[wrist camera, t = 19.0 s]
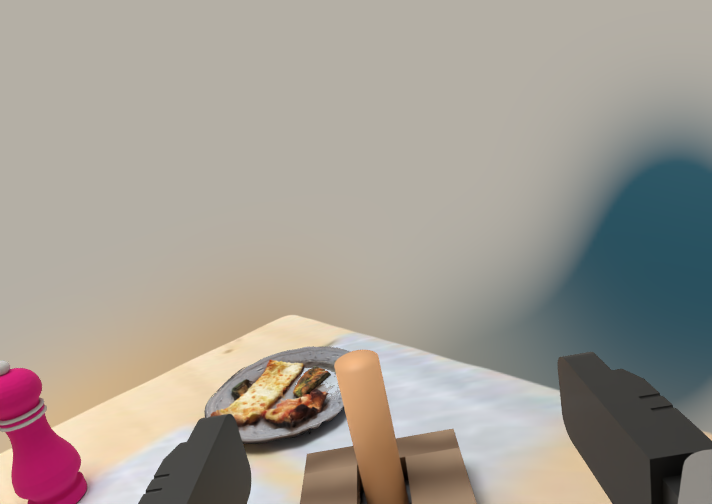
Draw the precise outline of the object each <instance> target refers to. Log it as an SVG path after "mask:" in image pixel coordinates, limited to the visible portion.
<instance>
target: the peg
mask: <svg viewBox="0 0 712 504" xmlns="http://www.w3.org/2000/svg"><path fill="white" fill-rule="evenodd" d="M334 367H335V371H336V376H337V380H338V384H339V388H340V392H341V396H342V401H343V405H344V409H345V413H346V417H347V421H348V426H349V430H350V434H351V438H352V442H353V446H354V451H355V455H356V459H357V463H358V467H359V471H360V476H361V480H362V484H363V488H364V490H363V491H362V492H361V493H360V504H412V499H411V492H410V486H409V481H408V480H404V476H403V472H402V467H401V462H400V457H399V453H398V448H397V443H396V438H395V434H394V429H393V424H392V419H391V415H390V410H389V405H388V400H387V396H386V391H385V386H384V381H383V377H382V372H381V367H380V362H379V358H378V355H377V354H376V353H375V352H373V351H370V350H357V351H352V352H349V353H346V354H344V355H343V356H341V357H340V358H338V359H337V360H336V362H335V364H334Z"/></svg>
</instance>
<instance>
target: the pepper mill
mask: <svg viewBox="0 0 712 504" xmlns="http://www.w3.org/2000/svg"><path fill="white" fill-rule="evenodd" d="M41 391H42V383H41V380H40V379H39V377H38V376H37V375H36V374H35V373H34V372H32V371H31V370H28V369H24V368H14V369H10V365H9V363H8V362H6V361H3V360H1V361H0V431H2V432H6V434H7V435H8V437H9V438H10V441H11V444H12V449H13V464H12V484H13V487H14V490H15V493H16V494H17V495H18V496H19V497H21V498H23V499H28V504H76V503H77V502H78V501H79V500H80V499H81V498H82V497H83V495H84V494H85V492H86V490H87V483H86V481H85V479H84V476H83V474H82V473H81V472H78V471H79V468H80V465H81V459H80V456H79V454H78V452H77V450H76V449H75V448H74V447H73V446H72V445H71V444H70V443H69V442H67V441H66V440H64V439H63V438H61V437H59V436H58V435H57V434H56V433H55V432H54V431H53V430H52V429H51V427H50V425H49V424H48V422H47V420H46V416H45V412H46V409H47V407H46V406H45V405H44V400H43V399H42V398H39V396H40V393H41Z"/></svg>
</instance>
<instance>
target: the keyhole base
mask: <svg viewBox="0 0 712 504" xmlns="http://www.w3.org/2000/svg"><path fill="white" fill-rule="evenodd" d="M396 443H397V448H398V453H399V457H400V462H401V467H402V472H403V476H404V480H408V481H409V486H410V492H411V499H412V504H477V503H476V500H475V497H474V493H473V490H472V487H471V484H470V481H469V477H468V474H467V471H466V468H465V465H464V461H463V458H462V455H461V452H460V449H459V446H458V442H457V439H456V436H455V433H454V430H453V429H449V430H443V431H437V432H431V433H426V434H420V435H414V436H408V437H402V438H397V439H396ZM362 490H364V488H363V484H362V480H361V476H360V471H359V467H358V463H357V459H356V455H355V451H354V446H351V447H345V448H339V449H333V450H327V451H322V452H316V453H310V454H307V459H306V466H305V473H304V480H303V486H302V493H301V500H300V504H360V491H362Z"/></svg>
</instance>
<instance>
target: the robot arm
mask: <svg viewBox="0 0 712 504" xmlns="http://www.w3.org/2000/svg"><path fill="white" fill-rule="evenodd" d="M558 375H559V385H560V396H561V406H562V415H563V420H564V424H565V427H566V430H567V433H568V435H569V437H570V439H571V441H572V443H573V444H574V446H575V447H576V449H577V450H578V452H579V453H580V455H581V456H582V458H583V459H584V461H585V462H586V464H587V465H588V467H589V468H590V470H591V471H592V473H593V475H594V476H595V478H596V479H597V481H598V482H599V484H600V485H601V487H602V488H603V490H604V491H605V493H606V494H607V496H608V497H609V499H610V500H611V502H612V503H613V504H712V441H711V440H710V439H709V438H708V437H707V436H706V435H705V434H704V433H703V432H702V431H701V430H699V429H698V428H697V427H696V426H695V425H694V424H693V423H692V422H691V421H690V420H689V419H687V418H686V417H685V416H684V415H683V414H682V413H681V412H680V411H679V410H678V409H676V408H673V405H672V404H671V403H670V402H669V401H668V400H667V399H666V398H664V397H663V396H660V393H659V392H658V391H657V390H656V389H655V388H653V387H652V386H651V385H650V384H649V383H648V382H647V381H646V380H645V379H643V378H641V377H639V376H637V375H634V374H632V373H630V372H628V371H626V370H624V369H617V370H611V369H610V368H609V367H608V366H607V365H606V364H605V363H604V362H603V361H602V360H601V359H600V358H599V357H598V356H596V354H595V353H593V352H587V353H581V354H575V355H570V356H563V357H559V359H558ZM250 490H251V470H250V465H249V462H248V458H247V455H246V452H245V449H244V445H243V442H242V439H241V436H240V433H239V429H238V426H237V423H236V420H235V418H234V416H233V415H232V414H224V415H218V416H213V417H207V418H201V419H200V420H199V421H198V422H197V424H196V426H195V428H194V430H193V432H192V433H191V435H190V437H189V439H188V441H187V442H184V443H180V444H179V445H178V446H177V447H176V448H175V449H174V450H173V451H172V452H171V453H170V454H169V455H168V456H167V457H166V458H165V459H164V460H163V461H162V463H161V465H160V467H159V468H158V470H157V472H156V474H155V475H154V480H152V481H151V482H150V484H149V486H148V487H147V489H146V494H143V496H142V498H141V500H140V501H139V503H138V504H247V501H248V498H249V494H250Z"/></svg>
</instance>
